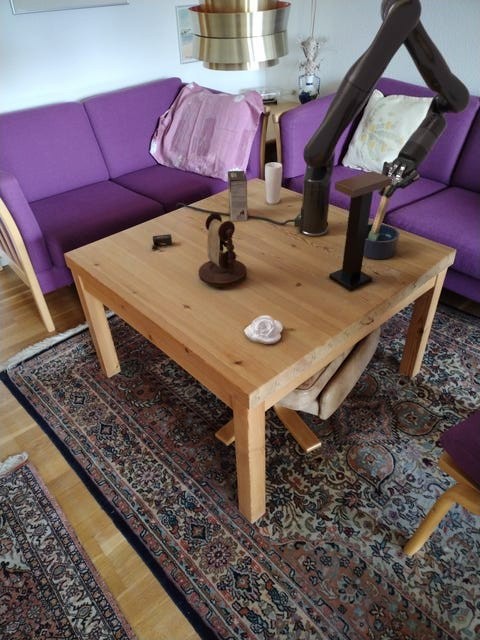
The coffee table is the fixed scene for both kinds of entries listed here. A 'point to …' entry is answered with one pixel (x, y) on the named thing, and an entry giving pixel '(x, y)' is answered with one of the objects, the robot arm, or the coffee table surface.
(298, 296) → the coffee table surface
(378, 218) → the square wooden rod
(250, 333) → the rose
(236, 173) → the coffee box
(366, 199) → the headphone stand
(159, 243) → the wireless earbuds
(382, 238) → the bowl
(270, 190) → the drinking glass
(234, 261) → the scroll
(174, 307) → the coffee table surface
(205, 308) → the coffee table surface
